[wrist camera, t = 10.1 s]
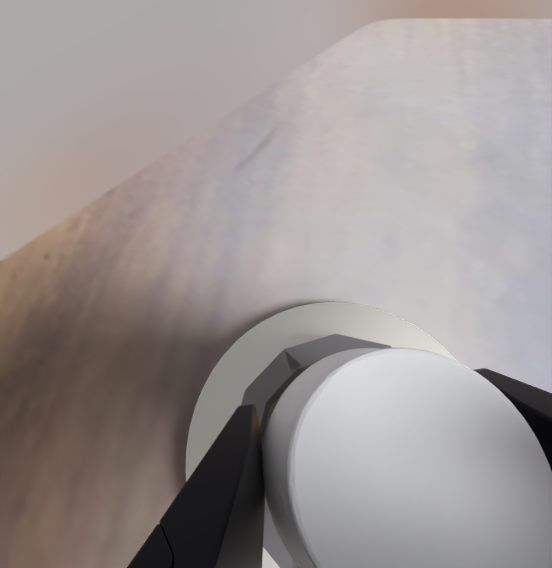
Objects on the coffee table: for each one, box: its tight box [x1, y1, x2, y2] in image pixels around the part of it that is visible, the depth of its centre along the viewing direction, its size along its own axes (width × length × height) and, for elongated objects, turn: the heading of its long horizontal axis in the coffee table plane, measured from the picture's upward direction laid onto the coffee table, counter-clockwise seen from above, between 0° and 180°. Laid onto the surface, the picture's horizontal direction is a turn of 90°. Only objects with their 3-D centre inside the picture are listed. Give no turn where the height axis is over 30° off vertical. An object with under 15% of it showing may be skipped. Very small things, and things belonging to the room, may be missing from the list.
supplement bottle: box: [262, 347, 552, 568], centre depth 9 cm, size 5×5×10 cm
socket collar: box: [186, 302, 458, 568], centre depth 15 cm, size 14×14×3 cm
